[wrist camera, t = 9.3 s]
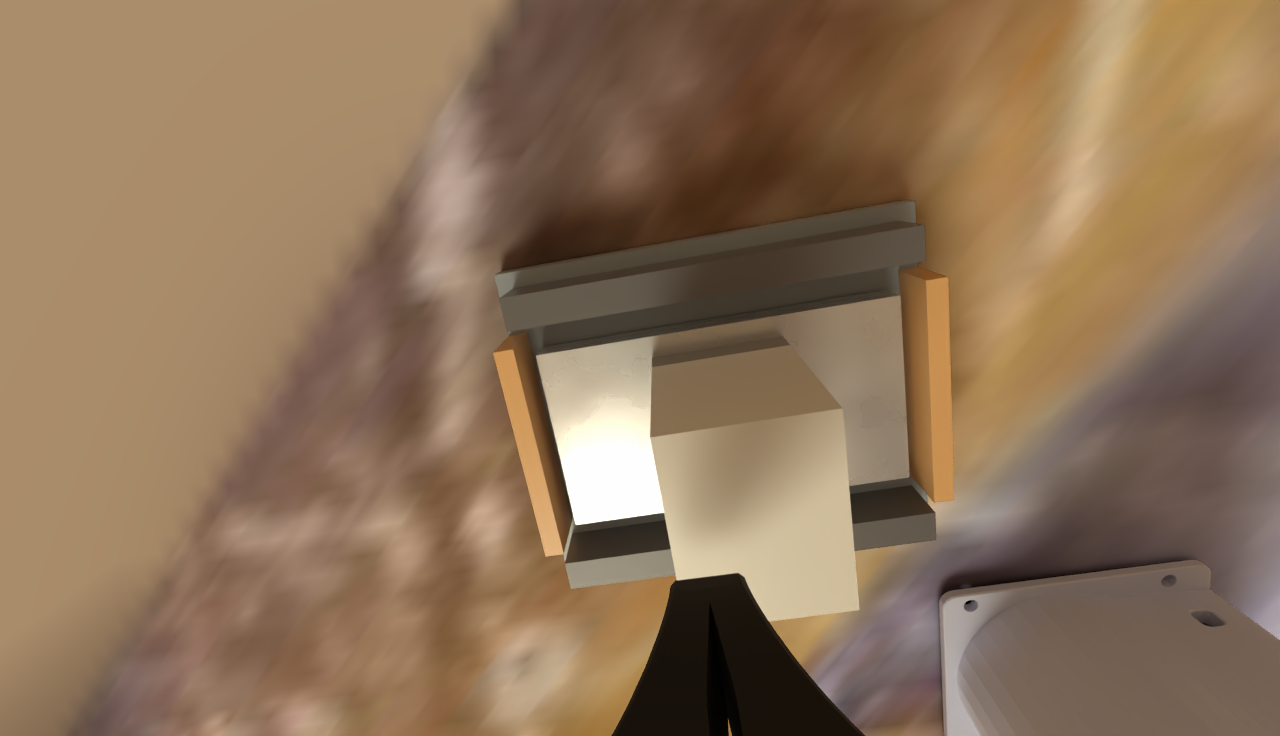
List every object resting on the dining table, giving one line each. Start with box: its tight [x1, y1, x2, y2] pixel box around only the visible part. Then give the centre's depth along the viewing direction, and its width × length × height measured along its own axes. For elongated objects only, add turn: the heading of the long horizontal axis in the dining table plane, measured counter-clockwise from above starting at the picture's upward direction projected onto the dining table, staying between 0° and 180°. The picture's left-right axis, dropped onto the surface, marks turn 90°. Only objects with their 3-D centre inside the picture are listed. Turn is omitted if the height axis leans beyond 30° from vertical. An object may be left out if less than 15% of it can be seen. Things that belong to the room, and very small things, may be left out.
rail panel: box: [493, 200, 954, 589], centre depth 19 cm, size 13×11×3 cm
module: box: [650, 337, 859, 621], centre depth 16 cm, size 4×5×6 cm
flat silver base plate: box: [536, 290, 910, 525], centre depth 19 cm, size 11×6×1 cm, turn 100°
